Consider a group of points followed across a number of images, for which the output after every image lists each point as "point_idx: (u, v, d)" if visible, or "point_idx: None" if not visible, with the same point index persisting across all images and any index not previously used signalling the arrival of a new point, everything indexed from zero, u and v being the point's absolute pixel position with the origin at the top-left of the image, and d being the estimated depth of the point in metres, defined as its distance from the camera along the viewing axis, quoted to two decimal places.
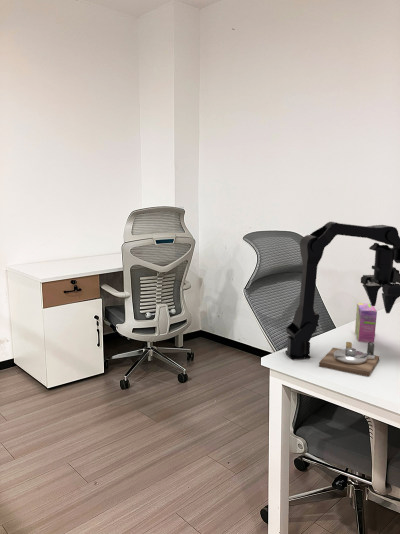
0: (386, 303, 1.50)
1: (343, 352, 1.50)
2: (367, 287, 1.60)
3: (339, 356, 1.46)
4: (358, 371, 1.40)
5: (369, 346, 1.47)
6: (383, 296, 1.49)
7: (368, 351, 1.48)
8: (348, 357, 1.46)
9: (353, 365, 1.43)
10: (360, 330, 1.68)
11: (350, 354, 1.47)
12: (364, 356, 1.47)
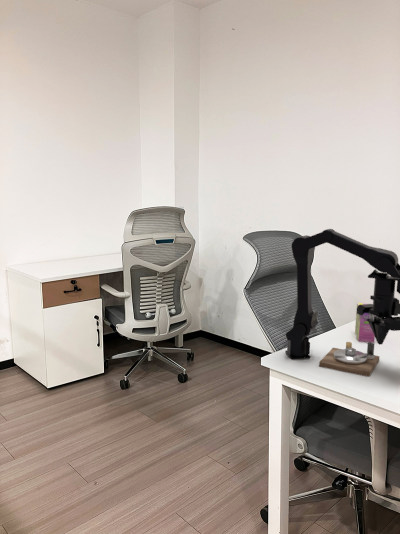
0: (379, 334, 1.39)
1: (343, 352, 1.50)
2: (373, 323, 1.40)
3: (339, 356, 1.46)
4: (358, 371, 1.40)
5: (369, 346, 1.47)
6: (377, 327, 1.38)
7: (368, 351, 1.48)
8: (348, 357, 1.46)
9: (353, 365, 1.43)
10: (360, 330, 1.68)
11: (350, 354, 1.47)
12: (364, 356, 1.47)
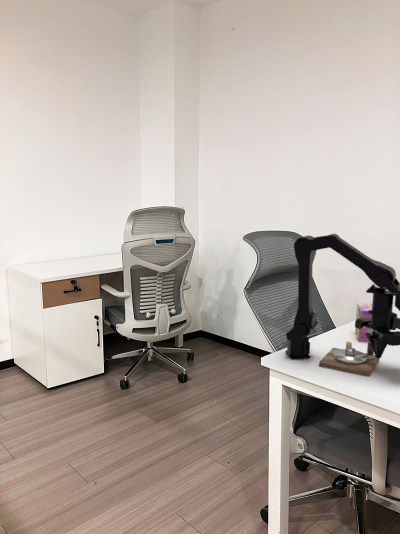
0: (378, 348, 1.40)
1: (343, 352, 1.50)
2: (371, 337, 1.42)
3: (339, 356, 1.46)
4: (358, 371, 1.40)
5: (369, 346, 1.47)
6: (375, 341, 1.39)
7: (368, 351, 1.48)
8: (348, 357, 1.46)
9: (353, 365, 1.43)
10: (360, 330, 1.68)
11: (350, 354, 1.47)
12: (364, 356, 1.47)
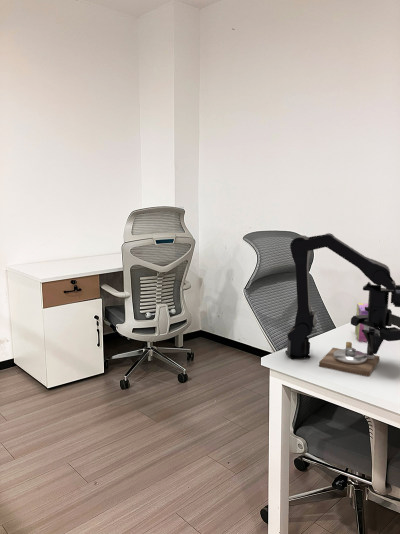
0: (374, 344, 1.44)
1: (343, 352, 1.50)
2: (368, 333, 1.45)
3: (339, 356, 1.46)
4: (358, 371, 1.40)
5: (369, 346, 1.47)
6: (371, 337, 1.43)
7: (368, 351, 1.48)
8: (348, 357, 1.46)
9: (353, 365, 1.43)
10: (360, 330, 1.68)
11: (350, 354, 1.47)
12: (364, 356, 1.47)
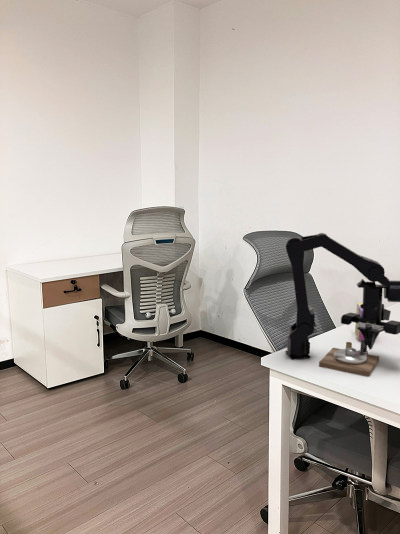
0: (372, 339, 1.47)
1: (341, 353, 1.49)
2: (366, 330, 1.47)
3: (345, 358, 1.45)
4: (358, 371, 1.40)
5: (364, 343, 1.50)
6: (371, 333, 1.46)
7: (363, 348, 1.51)
8: (353, 358, 1.45)
9: (353, 365, 1.43)
10: None
11: (353, 354, 1.47)
12: (362, 353, 1.49)
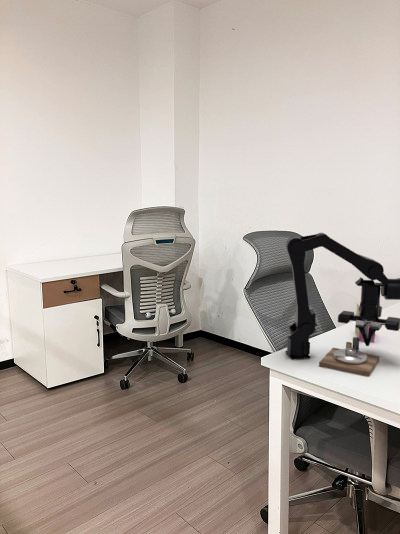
0: (371, 336, 1.50)
1: (342, 354, 1.48)
2: (364, 328, 1.50)
3: (352, 359, 1.44)
4: (358, 371, 1.40)
5: (357, 341, 1.52)
6: (372, 330, 1.48)
7: (356, 346, 1.52)
8: (357, 357, 1.46)
9: (353, 365, 1.43)
10: None
11: (354, 354, 1.47)
12: (358, 352, 1.51)
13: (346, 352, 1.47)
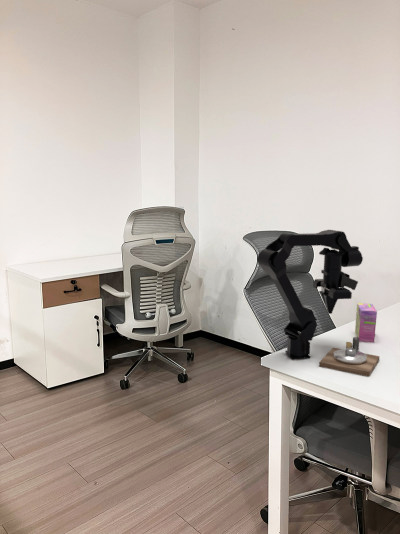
0: (328, 304, 1.56)
1: (342, 354, 1.48)
2: None
3: (352, 359, 1.44)
4: (358, 371, 1.40)
5: (357, 341, 1.52)
6: (325, 297, 1.55)
7: (356, 346, 1.52)
8: (357, 357, 1.46)
9: (353, 365, 1.43)
10: (360, 330, 1.68)
11: (354, 354, 1.47)
12: (358, 352, 1.51)
13: (346, 352, 1.47)
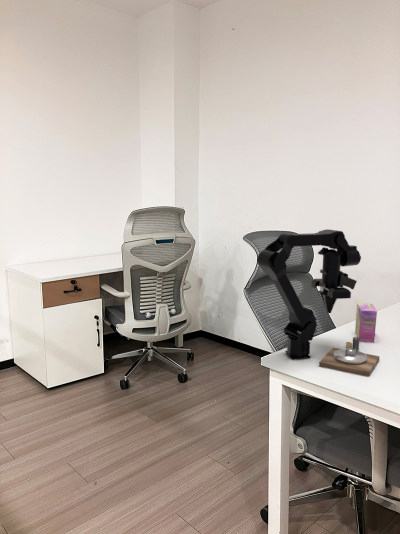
0: (327, 303, 1.56)
1: (342, 354, 1.48)
2: (322, 294, 1.58)
3: (352, 359, 1.44)
4: (358, 371, 1.40)
5: (357, 341, 1.52)
6: (324, 296, 1.55)
7: (356, 346, 1.52)
8: (357, 357, 1.46)
9: (353, 365, 1.43)
10: (360, 330, 1.68)
11: (354, 354, 1.47)
12: (358, 352, 1.51)
13: (346, 352, 1.47)
